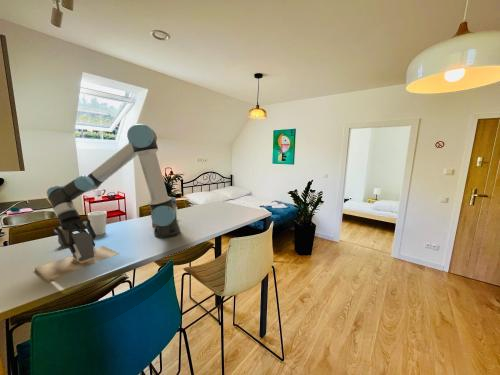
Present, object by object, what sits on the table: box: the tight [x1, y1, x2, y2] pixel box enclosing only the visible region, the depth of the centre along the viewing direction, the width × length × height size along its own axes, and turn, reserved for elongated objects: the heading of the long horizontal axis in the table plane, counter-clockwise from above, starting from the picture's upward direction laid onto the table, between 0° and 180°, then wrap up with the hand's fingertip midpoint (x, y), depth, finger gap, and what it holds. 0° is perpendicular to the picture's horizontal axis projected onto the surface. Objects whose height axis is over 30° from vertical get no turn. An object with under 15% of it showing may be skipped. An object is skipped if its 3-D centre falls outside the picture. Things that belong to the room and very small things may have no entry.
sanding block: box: [71, 232, 94, 263], centre depth 95 cm, size 8×5×11 cm, turn 59°
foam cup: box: [87, 210, 108, 236], centre depth 130 cm, size 10×9×13 cm
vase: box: [57, 229, 75, 247], centre depth 113 cm, size 7×7×9 cm
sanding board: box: [34, 245, 120, 283], centre depth 95 cm, size 26×16×1 cm, turn 149°
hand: (87, 255), depth 94 cm, fingers closed on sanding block, 5 cm apart
